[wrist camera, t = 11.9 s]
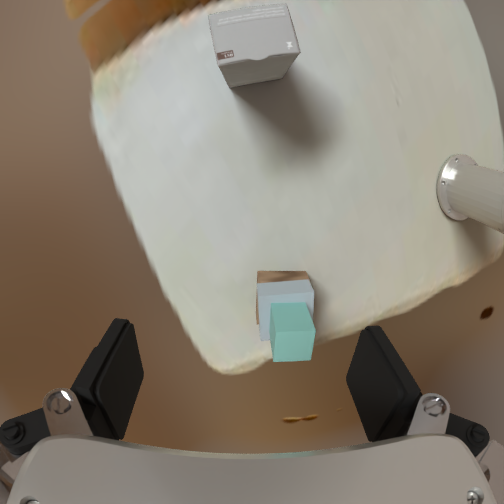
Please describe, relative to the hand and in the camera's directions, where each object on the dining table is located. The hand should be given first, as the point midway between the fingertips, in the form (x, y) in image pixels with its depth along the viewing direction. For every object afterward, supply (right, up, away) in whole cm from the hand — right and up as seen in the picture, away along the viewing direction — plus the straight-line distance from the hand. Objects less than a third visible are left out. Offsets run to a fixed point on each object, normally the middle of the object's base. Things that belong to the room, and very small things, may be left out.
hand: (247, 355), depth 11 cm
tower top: (+5, -4, +35) cm, 35 cm away
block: (+5, -5, +31) cm, 32 cm away
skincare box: (0, +31, +25) cm, 40 cm away
